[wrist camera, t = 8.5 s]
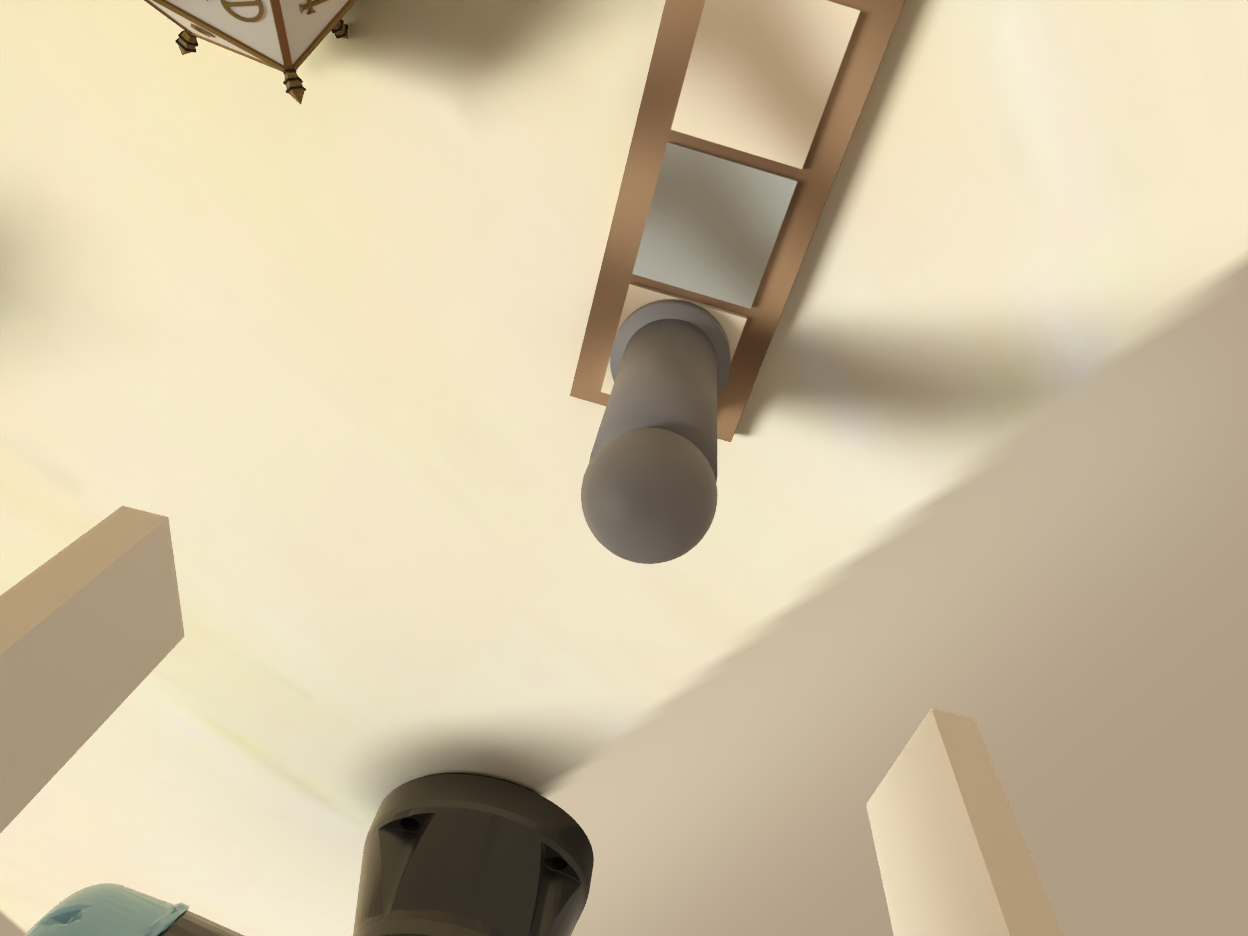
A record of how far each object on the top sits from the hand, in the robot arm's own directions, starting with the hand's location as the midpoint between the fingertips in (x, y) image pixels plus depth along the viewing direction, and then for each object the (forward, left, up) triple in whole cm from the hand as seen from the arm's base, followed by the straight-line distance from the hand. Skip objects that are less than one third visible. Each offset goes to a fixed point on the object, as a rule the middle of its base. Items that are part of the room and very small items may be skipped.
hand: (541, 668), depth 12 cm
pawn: (0, -2, -17) cm, 17 cm away
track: (+7, -2, -18) cm, 20 cm away
